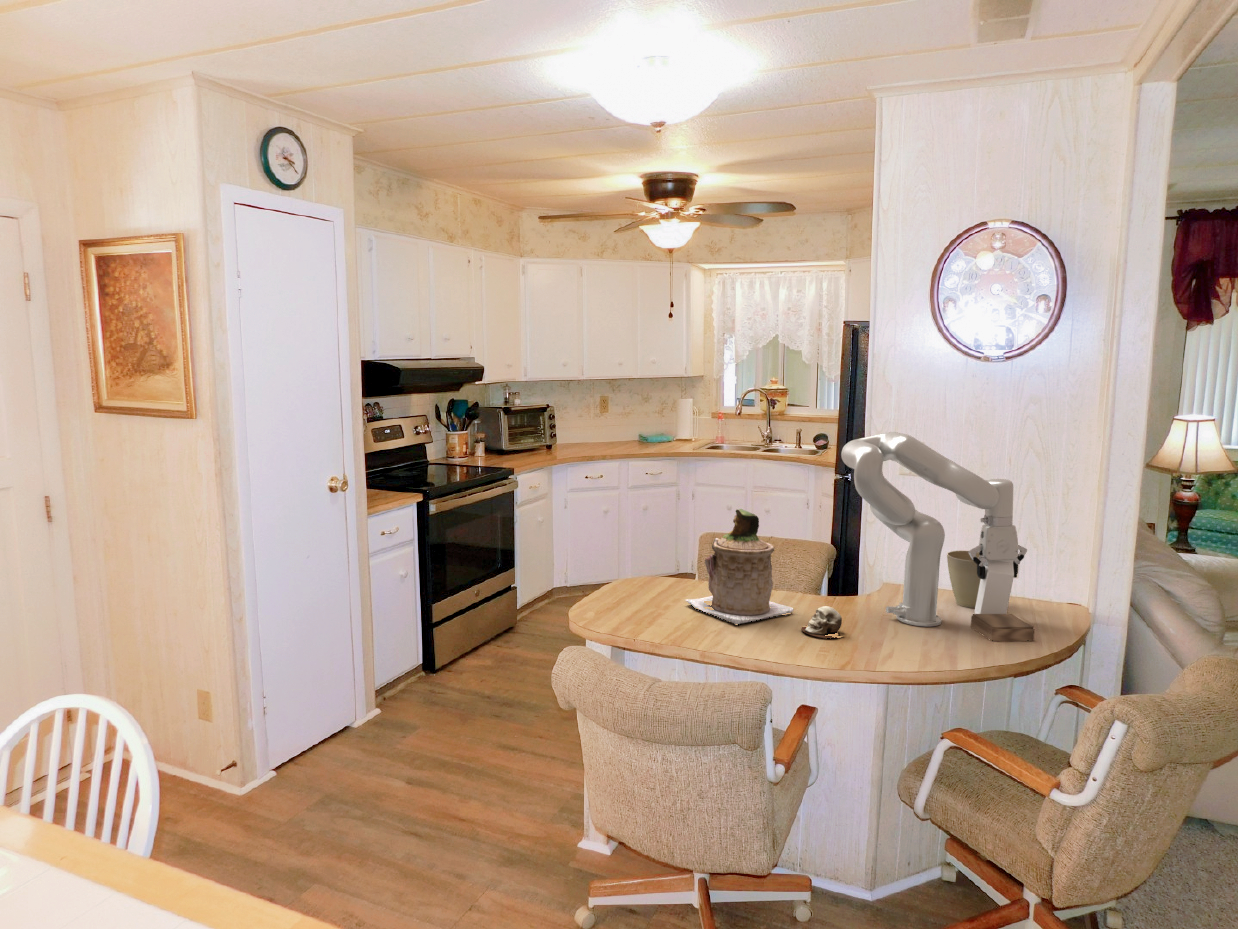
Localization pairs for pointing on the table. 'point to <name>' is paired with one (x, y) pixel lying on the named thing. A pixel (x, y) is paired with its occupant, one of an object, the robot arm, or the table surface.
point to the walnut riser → (1002, 627)
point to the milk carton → (995, 587)
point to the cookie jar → (741, 575)
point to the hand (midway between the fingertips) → (997, 577)
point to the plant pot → (963, 577)
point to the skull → (824, 623)
